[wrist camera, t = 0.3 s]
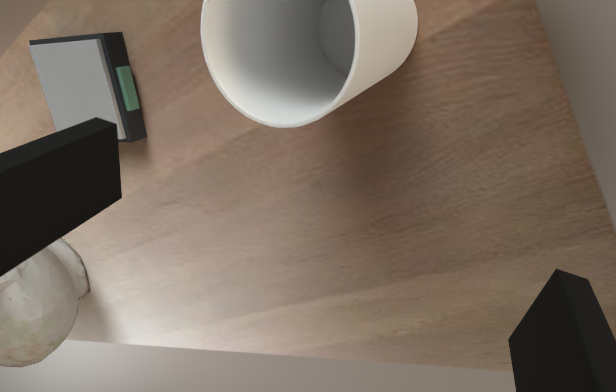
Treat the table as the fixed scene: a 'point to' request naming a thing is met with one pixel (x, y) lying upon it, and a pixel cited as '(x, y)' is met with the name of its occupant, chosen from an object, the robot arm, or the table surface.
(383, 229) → the table surface
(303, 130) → the table surface
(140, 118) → the scale
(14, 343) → the ceramic pitcher
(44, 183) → the robot arm
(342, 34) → the cup
